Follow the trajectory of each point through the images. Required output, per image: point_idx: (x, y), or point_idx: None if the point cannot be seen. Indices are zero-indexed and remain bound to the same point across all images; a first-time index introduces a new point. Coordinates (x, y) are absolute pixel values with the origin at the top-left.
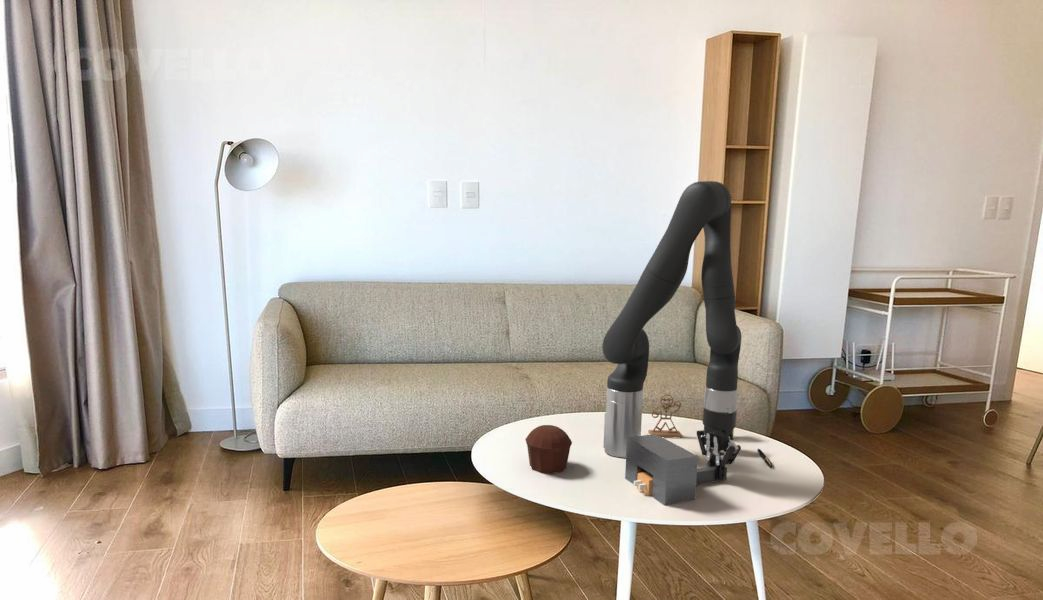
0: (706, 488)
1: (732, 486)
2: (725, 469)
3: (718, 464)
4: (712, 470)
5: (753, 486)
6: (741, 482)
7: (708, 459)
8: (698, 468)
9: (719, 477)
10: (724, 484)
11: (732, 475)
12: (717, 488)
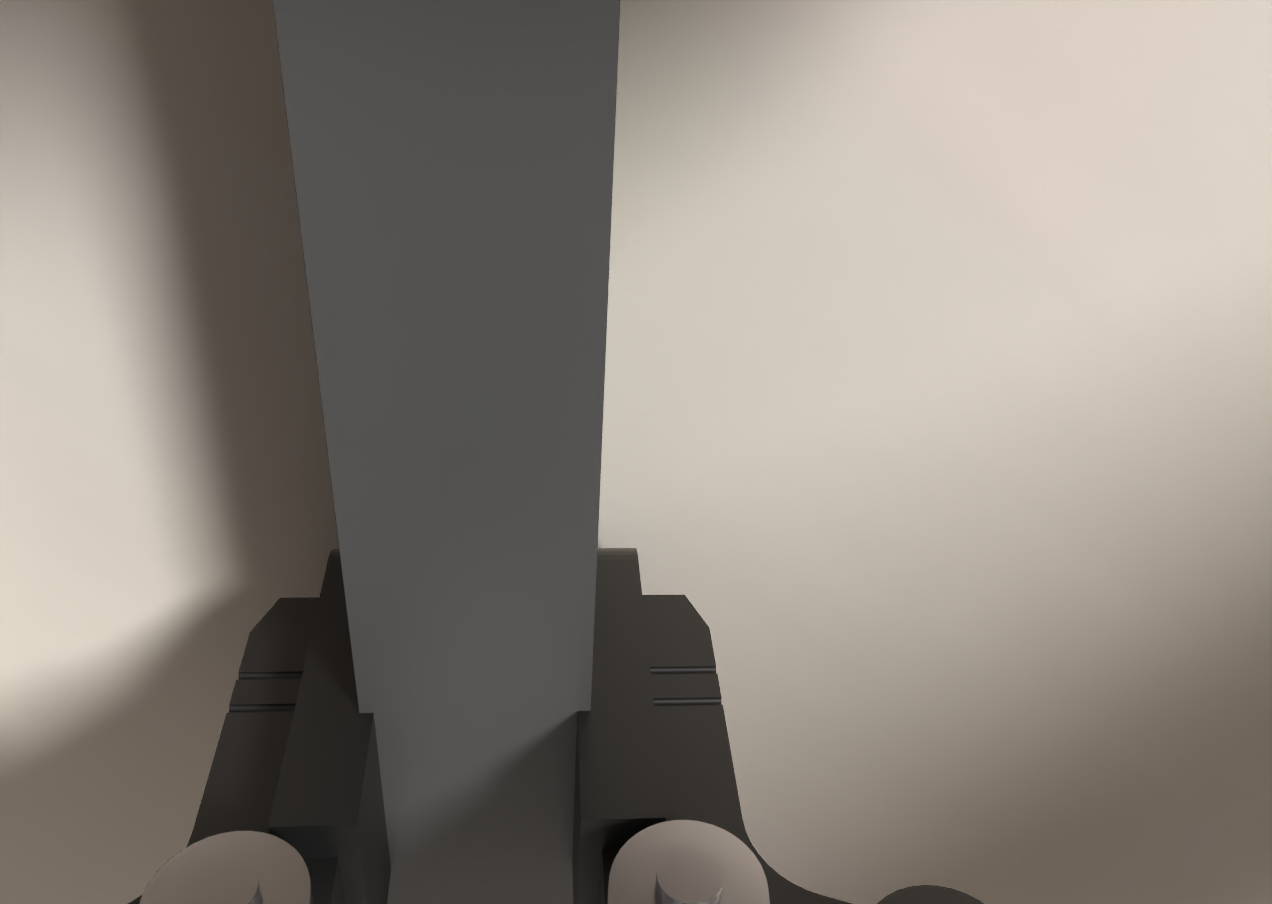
0: (49, 82)
1: (76, 646)
2: None
3: (178, 870)
4: (350, 631)
5: (20, 895)
6: None
7: (665, 854)
8: (580, 375)
9: (268, 621)
10: (207, 582)
11: None
12: (11, 332)
